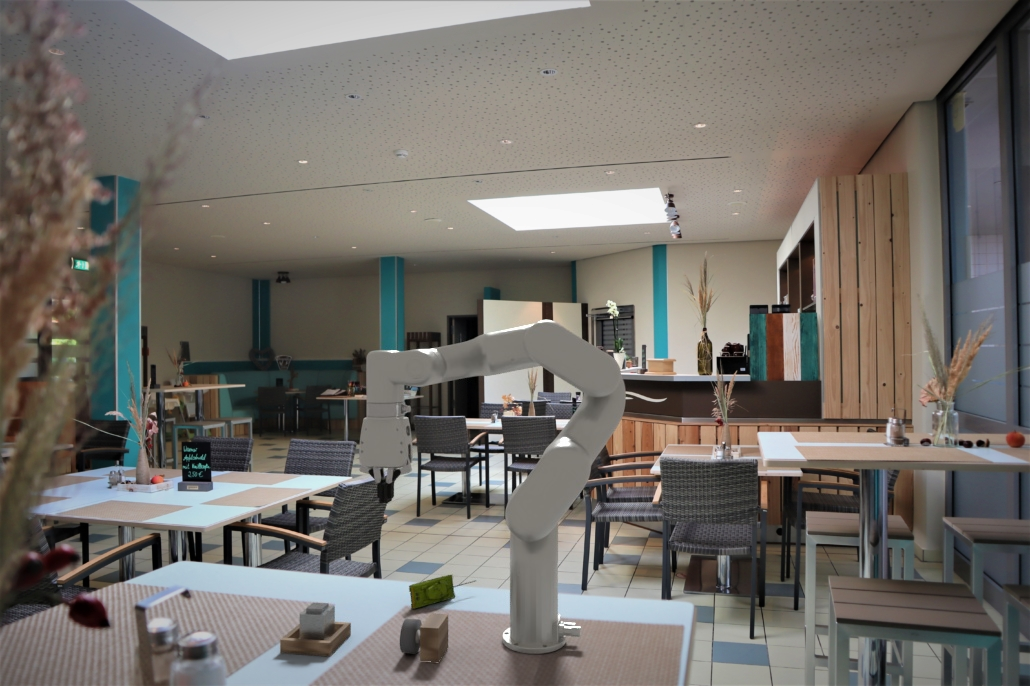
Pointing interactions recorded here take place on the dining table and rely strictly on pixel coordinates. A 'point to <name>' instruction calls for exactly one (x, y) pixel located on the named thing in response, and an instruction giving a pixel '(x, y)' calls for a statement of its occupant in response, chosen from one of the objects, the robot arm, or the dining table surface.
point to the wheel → (410, 636)
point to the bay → (315, 642)
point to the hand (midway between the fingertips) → (385, 501)
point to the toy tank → (432, 591)
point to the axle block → (434, 637)
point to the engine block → (317, 622)
